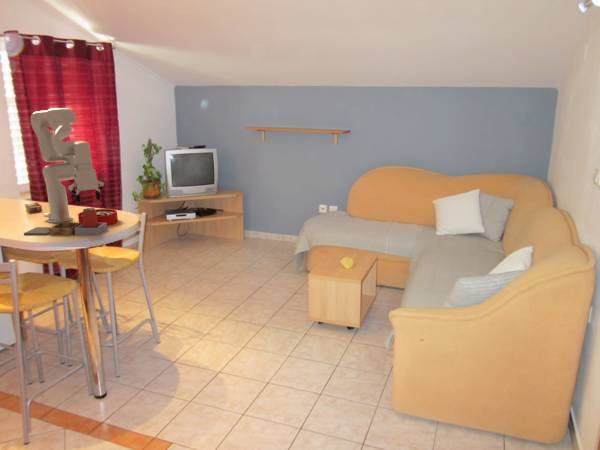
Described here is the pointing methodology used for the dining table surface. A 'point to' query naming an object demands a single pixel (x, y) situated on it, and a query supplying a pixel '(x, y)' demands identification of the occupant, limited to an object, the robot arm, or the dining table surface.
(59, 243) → the dining table surface
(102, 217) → the red round tin
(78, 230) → the slate frame
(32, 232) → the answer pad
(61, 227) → the walnut frame
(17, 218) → the dining table surface
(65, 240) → the dining table surface
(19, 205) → the dining table surface
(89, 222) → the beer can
